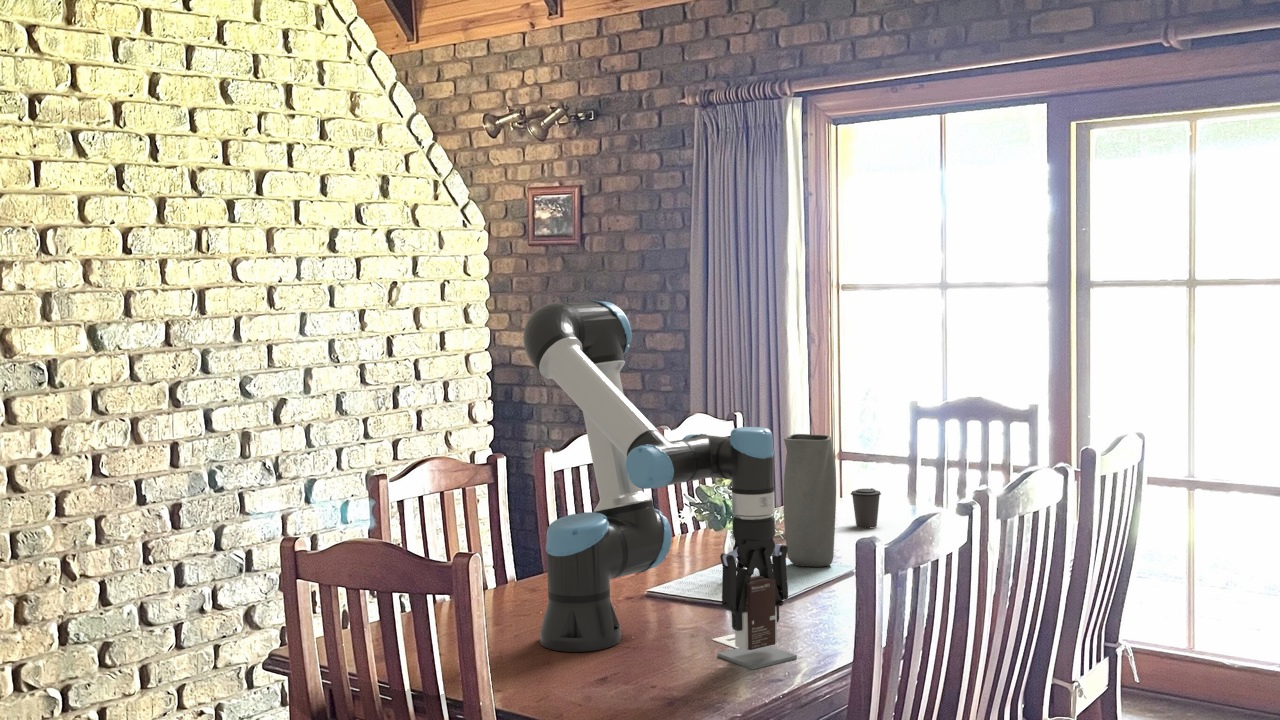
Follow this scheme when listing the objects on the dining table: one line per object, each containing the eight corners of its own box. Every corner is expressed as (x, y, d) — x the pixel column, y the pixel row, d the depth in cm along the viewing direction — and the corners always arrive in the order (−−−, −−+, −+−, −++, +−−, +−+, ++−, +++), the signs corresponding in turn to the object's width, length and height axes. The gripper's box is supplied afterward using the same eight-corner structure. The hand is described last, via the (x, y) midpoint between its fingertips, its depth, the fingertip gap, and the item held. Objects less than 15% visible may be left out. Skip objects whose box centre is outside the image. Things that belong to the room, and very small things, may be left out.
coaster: (752, 669, 222) (752, 666, 222) (717, 656, 230) (717, 653, 230) (796, 658, 228) (796, 655, 228) (760, 646, 236) (760, 642, 236)
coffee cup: (886, 524, 345) (885, 487, 344) (875, 530, 338) (874, 492, 337) (858, 522, 349) (857, 486, 348) (846, 528, 342) (845, 490, 341)
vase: (795, 557, 309) (792, 432, 307) (844, 560, 303) (841, 434, 301) (776, 567, 298) (773, 439, 296) (826, 572, 292) (824, 440, 290)
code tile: (738, 649, 234) (738, 648, 234) (711, 639, 241) (711, 638, 241) (767, 642, 238) (767, 641, 238) (740, 633, 245) (740, 632, 245)
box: (751, 651, 225) (749, 584, 224) (735, 646, 229) (733, 579, 228) (778, 645, 229) (776, 578, 228) (762, 639, 232) (760, 573, 232)
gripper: (724, 525, 219) (727, 659, 220) (808, 511, 229) (810, 639, 231) (697, 519, 225) (701, 649, 227) (780, 505, 236) (783, 630, 237)
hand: (756, 644), depth 229 cm, fingers closed on box, 6 cm apart
